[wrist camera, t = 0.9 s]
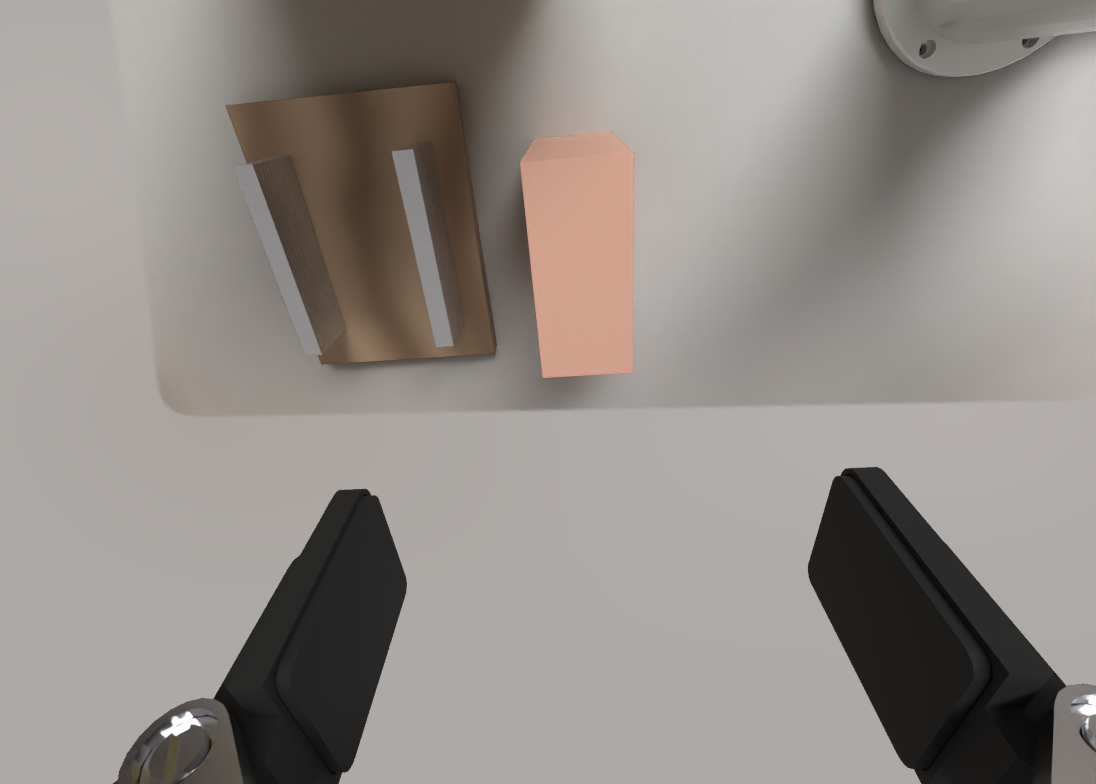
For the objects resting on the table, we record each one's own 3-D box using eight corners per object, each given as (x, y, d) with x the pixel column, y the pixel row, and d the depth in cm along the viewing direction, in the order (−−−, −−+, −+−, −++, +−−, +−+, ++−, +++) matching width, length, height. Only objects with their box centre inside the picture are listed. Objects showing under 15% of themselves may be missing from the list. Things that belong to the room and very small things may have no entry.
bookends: (431, 141, 31) (412, 149, 27) (465, 319, 37) (453, 346, 33) (272, 156, 32) (232, 166, 28) (331, 328, 38) (305, 355, 34)
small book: (611, 131, 32) (634, 152, 21) (614, 294, 37) (632, 372, 27) (533, 138, 32) (519, 162, 22) (548, 299, 38) (542, 378, 27)
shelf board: (455, 82, 30) (450, 82, 29) (496, 344, 40) (494, 353, 38) (239, 104, 31) (225, 105, 30) (329, 355, 41) (321, 364, 39)
